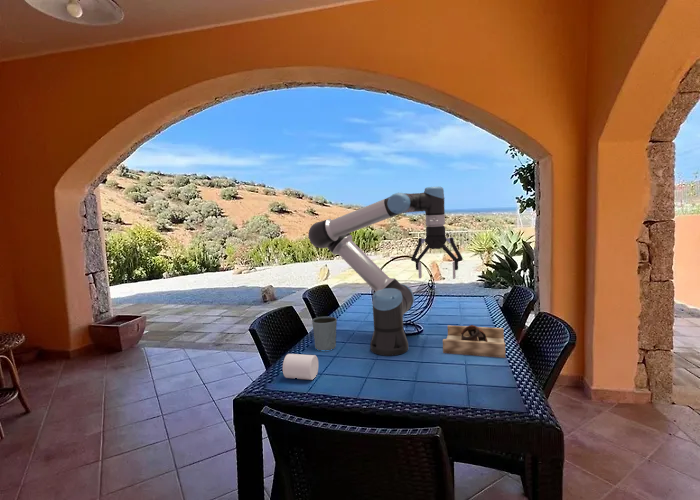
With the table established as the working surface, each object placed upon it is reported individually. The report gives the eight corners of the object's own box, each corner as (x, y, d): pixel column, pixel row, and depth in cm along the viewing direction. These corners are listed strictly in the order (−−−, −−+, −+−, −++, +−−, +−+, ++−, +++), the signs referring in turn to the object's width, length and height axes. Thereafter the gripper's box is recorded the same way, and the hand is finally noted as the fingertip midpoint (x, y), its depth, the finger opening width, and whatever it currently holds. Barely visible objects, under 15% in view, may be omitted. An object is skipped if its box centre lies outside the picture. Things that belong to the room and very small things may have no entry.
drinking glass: (308, 348, 156) (306, 320, 155) (326, 341, 164) (324, 314, 162) (325, 354, 149) (323, 324, 148) (343, 346, 157) (341, 318, 156)
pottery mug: (492, 348, 143) (483, 332, 141) (469, 358, 146) (460, 343, 143) (484, 331, 154) (475, 315, 152) (463, 340, 157) (454, 325, 154)
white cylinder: (310, 384, 124) (309, 360, 123) (283, 381, 127) (281, 359, 126) (323, 368, 136) (321, 347, 135) (297, 367, 138) (296, 346, 138)
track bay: (443, 353, 144) (442, 340, 143) (448, 336, 162) (447, 325, 161) (505, 357, 136) (505, 344, 136) (503, 340, 154) (503, 328, 153)
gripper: (402, 227, 152) (404, 279, 154) (467, 225, 143) (468, 280, 146) (406, 226, 159) (408, 276, 161) (468, 224, 150) (469, 276, 153)
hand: (437, 278), depth 153 cm, fingers open, 13 cm apart
